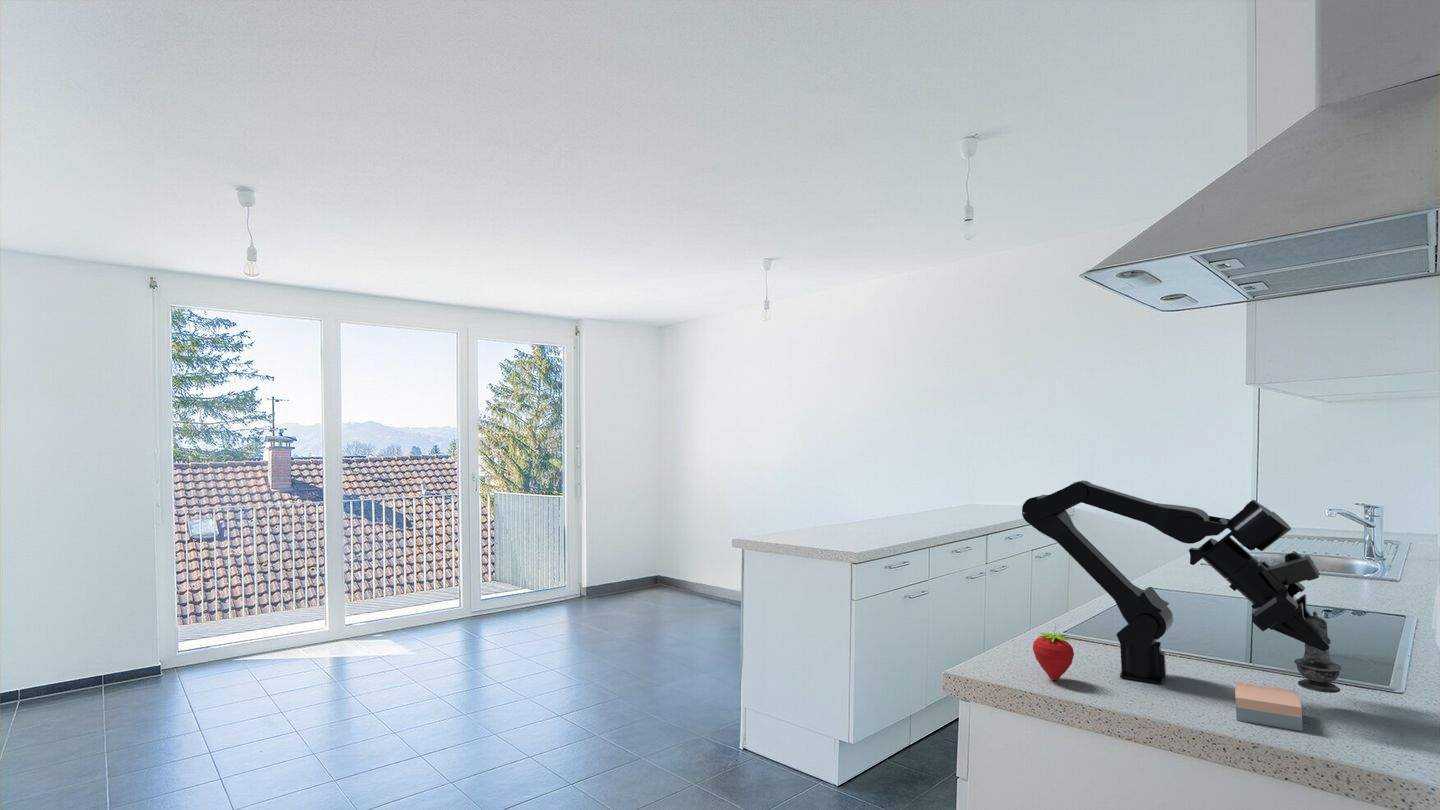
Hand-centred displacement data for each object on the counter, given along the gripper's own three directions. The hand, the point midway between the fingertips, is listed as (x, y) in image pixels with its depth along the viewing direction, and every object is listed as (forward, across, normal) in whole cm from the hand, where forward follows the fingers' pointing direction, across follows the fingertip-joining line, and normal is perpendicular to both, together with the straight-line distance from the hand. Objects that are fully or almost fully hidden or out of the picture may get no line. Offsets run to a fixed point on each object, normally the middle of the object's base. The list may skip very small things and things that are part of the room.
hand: (1327, 646), depth 114 cm
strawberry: (-19, -12, +34) cm, 41 cm away
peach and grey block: (+2, -9, +12) cm, 15 cm away
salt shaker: (+4, 0, +6) cm, 7 cm away
